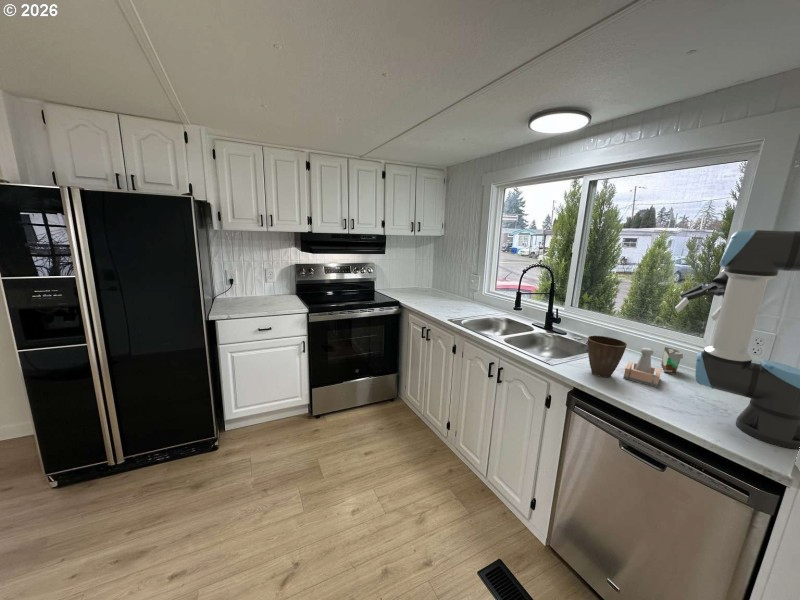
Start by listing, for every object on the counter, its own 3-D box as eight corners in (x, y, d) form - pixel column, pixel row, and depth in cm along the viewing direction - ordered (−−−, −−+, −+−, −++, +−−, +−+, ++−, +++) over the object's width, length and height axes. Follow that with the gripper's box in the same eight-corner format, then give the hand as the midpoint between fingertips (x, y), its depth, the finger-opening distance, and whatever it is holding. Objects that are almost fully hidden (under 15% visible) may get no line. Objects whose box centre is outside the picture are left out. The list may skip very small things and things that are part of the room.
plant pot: (575, 366, 153) (580, 334, 150) (605, 367, 154) (611, 335, 150) (595, 380, 138) (601, 345, 135) (628, 381, 139) (635, 346, 136)
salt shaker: (631, 374, 144) (636, 347, 141) (638, 372, 146) (643, 345, 144) (645, 379, 139) (651, 351, 136) (652, 377, 141) (658, 350, 139)
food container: (681, 377, 146) (686, 356, 144) (664, 373, 150) (669, 353, 148) (676, 368, 157) (680, 349, 155) (660, 365, 160) (664, 346, 158)
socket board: (657, 387, 135) (659, 376, 134) (623, 378, 142) (625, 368, 142) (659, 378, 144) (661, 368, 143) (627, 370, 151) (629, 361, 150)
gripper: (772, 290, 122) (733, 328, 121) (699, 280, 145) (666, 312, 145) (766, 276, 119) (727, 315, 119) (693, 268, 143) (660, 301, 143)
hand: (693, 313), depth 132 cm, fingers open, 13 cm apart
